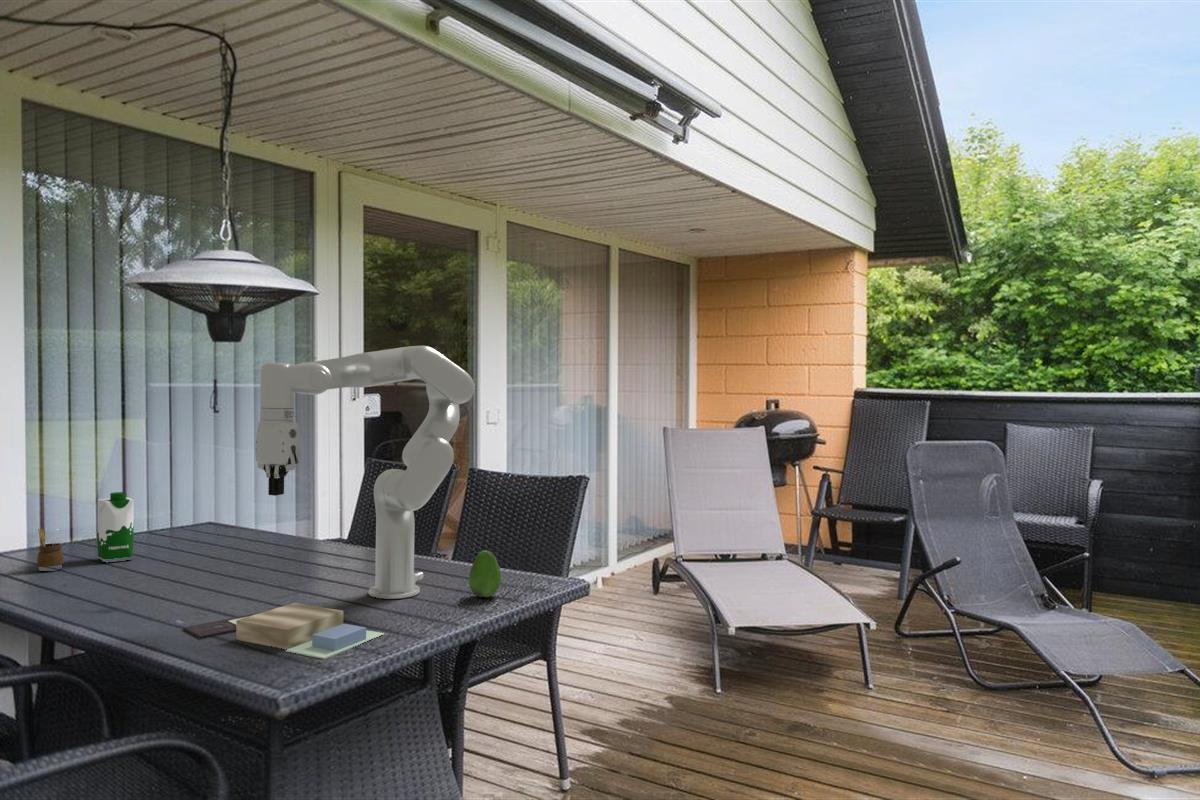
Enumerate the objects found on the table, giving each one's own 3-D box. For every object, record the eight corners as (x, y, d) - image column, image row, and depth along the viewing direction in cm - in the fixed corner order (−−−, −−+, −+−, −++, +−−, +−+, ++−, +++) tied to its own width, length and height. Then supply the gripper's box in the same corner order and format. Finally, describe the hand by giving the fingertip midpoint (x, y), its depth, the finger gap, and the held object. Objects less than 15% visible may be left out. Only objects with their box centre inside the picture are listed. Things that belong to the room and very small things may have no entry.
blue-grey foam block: (366, 627, 173) (366, 639, 173) (343, 623, 176) (343, 634, 176) (335, 639, 165) (334, 651, 165) (312, 634, 167) (312, 646, 168)
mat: (348, 628, 181) (348, 626, 181) (385, 634, 177) (385, 633, 177) (285, 651, 165) (285, 650, 165) (324, 659, 161) (324, 657, 161)
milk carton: (103, 564, 238) (103, 495, 238) (93, 559, 244) (94, 491, 244) (136, 560, 244) (137, 492, 244) (126, 555, 251) (127, 489, 250)
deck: (294, 620, 187) (294, 602, 186) (343, 629, 181) (343, 610, 181) (236, 639, 172) (236, 620, 172) (287, 649, 166) (287, 629, 166)
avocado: (487, 602, 205) (487, 554, 205) (462, 598, 209) (463, 550, 209) (507, 596, 212) (507, 549, 212) (482, 591, 216) (483, 545, 216)
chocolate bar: (183, 627, 178) (265, 611, 191) (183, 631, 178) (265, 615, 191) (200, 636, 172) (283, 619, 185) (200, 641, 172) (283, 623, 185)
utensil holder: (68, 568, 232) (68, 525, 232) (48, 573, 226) (48, 529, 226) (51, 567, 234) (51, 524, 234) (30, 571, 228) (31, 528, 228)
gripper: (313, 416, 194) (312, 495, 194) (265, 414, 200) (264, 490, 200) (289, 417, 187) (288, 499, 187) (240, 415, 193) (239, 494, 194)
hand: (276, 494), depth 194 cm, fingers closed
